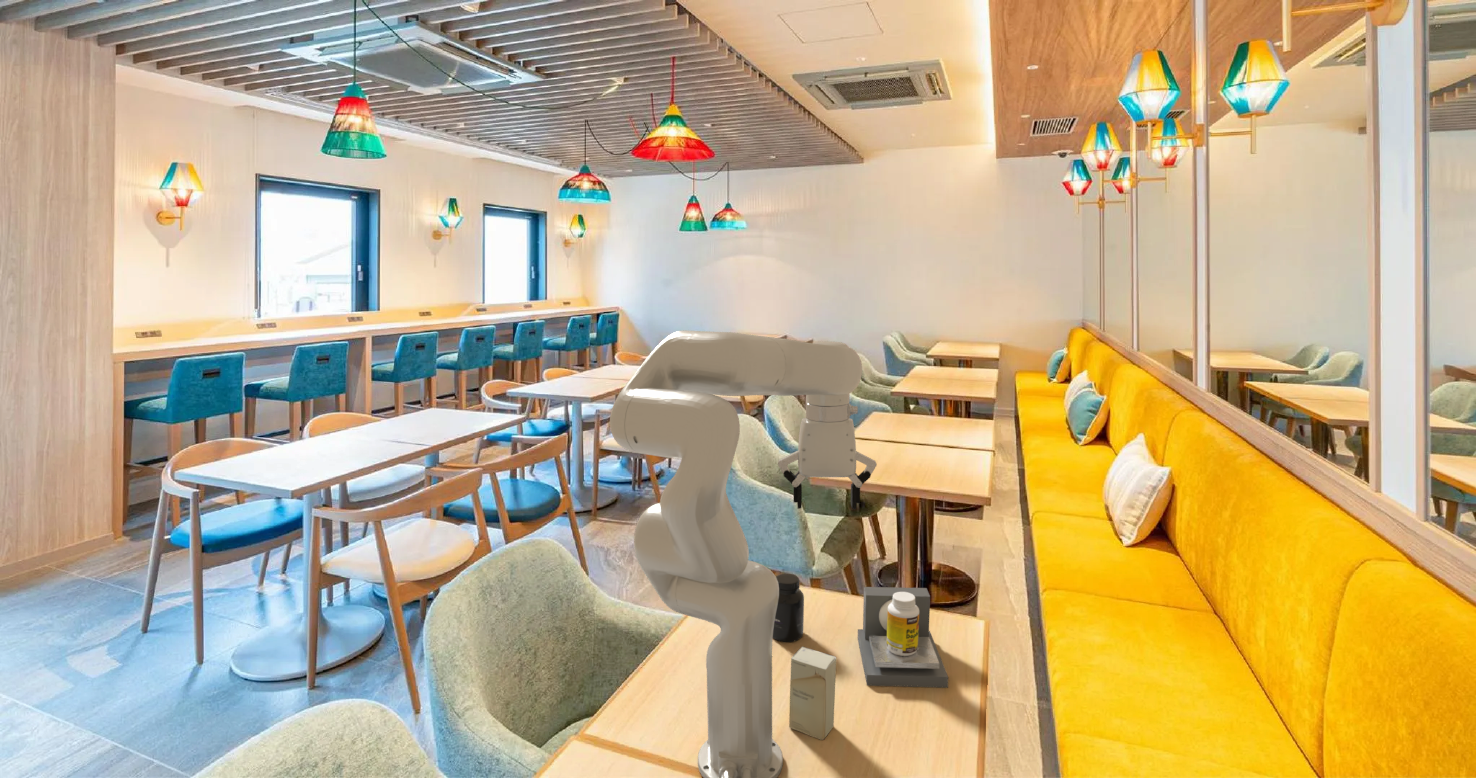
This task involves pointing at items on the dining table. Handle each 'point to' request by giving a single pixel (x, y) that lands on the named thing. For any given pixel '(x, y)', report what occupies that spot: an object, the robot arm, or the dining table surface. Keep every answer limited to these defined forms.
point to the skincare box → (812, 692)
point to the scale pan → (920, 659)
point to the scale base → (877, 626)
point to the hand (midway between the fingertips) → (826, 506)
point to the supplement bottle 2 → (902, 624)
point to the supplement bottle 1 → (789, 609)
